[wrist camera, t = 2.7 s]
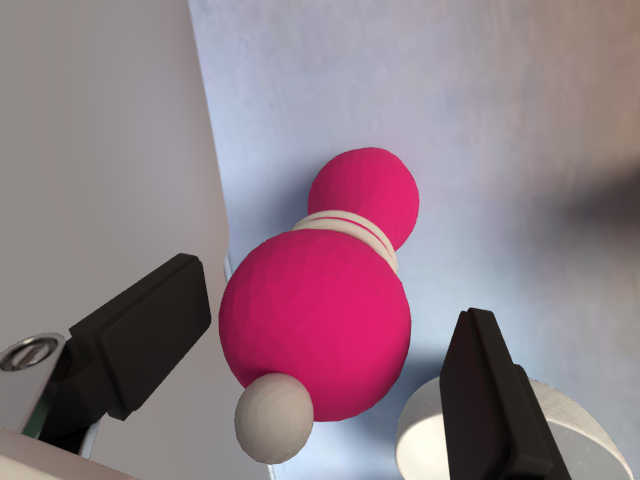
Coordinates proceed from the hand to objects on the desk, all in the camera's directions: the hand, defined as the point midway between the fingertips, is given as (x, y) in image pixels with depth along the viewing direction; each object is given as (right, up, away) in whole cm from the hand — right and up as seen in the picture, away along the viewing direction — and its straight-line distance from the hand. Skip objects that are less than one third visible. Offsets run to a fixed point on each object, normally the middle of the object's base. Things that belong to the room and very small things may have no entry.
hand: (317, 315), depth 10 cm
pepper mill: (+4, +7, +14) cm, 16 cm away
